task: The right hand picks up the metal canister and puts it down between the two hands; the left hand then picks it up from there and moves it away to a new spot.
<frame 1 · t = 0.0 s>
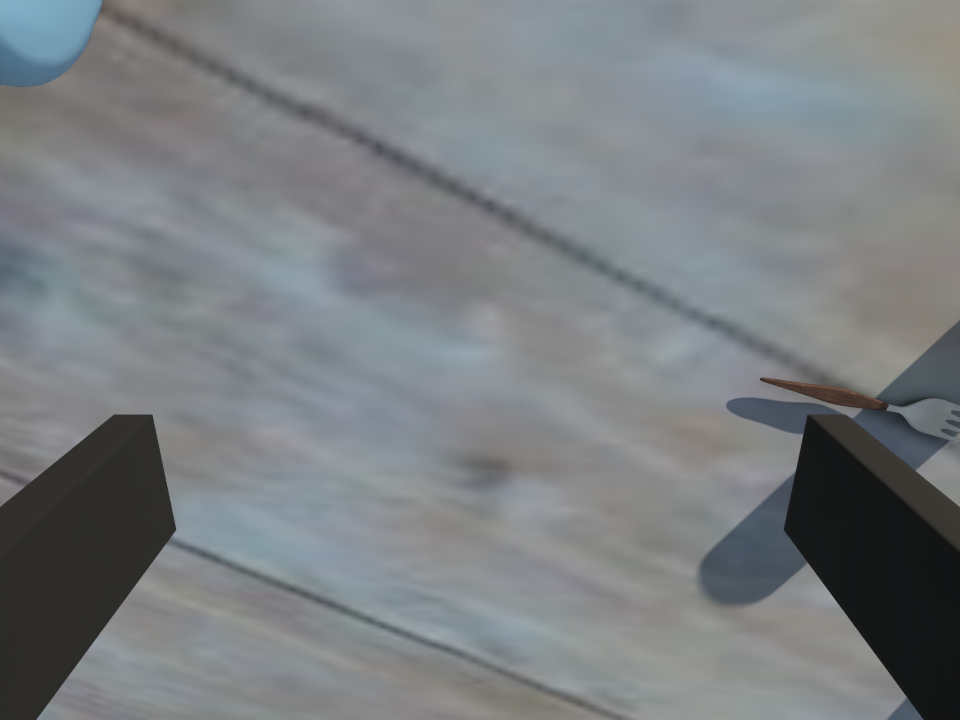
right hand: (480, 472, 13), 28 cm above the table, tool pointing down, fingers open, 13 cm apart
fork: (865, 399, 43), on the table
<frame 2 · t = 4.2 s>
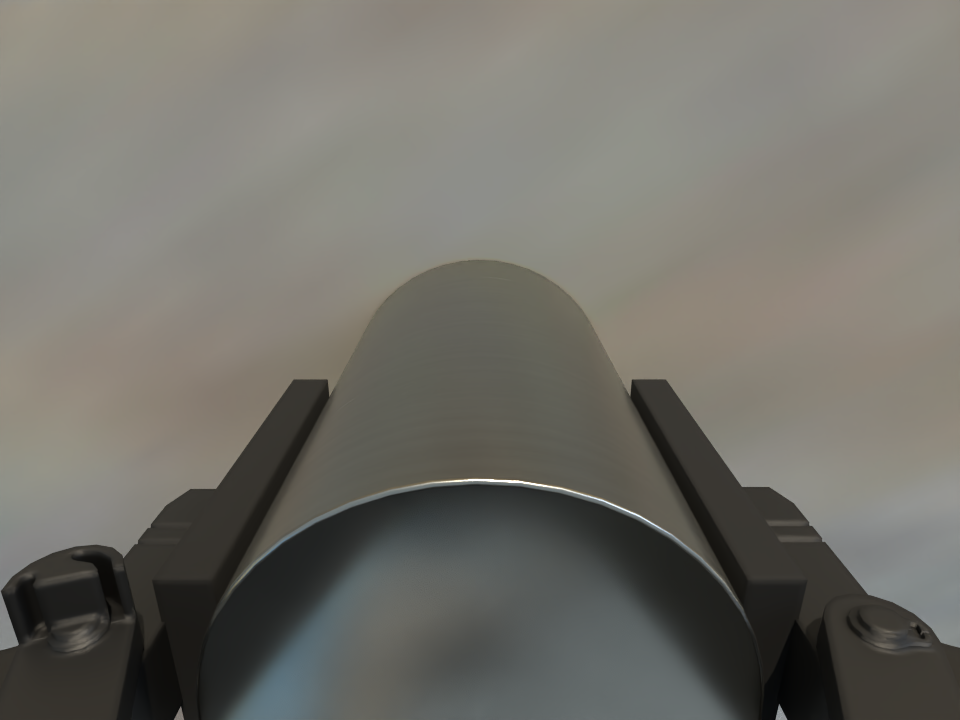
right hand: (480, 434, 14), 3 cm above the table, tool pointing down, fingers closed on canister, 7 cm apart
canister: (479, 381, 17), on the table, touching right hand
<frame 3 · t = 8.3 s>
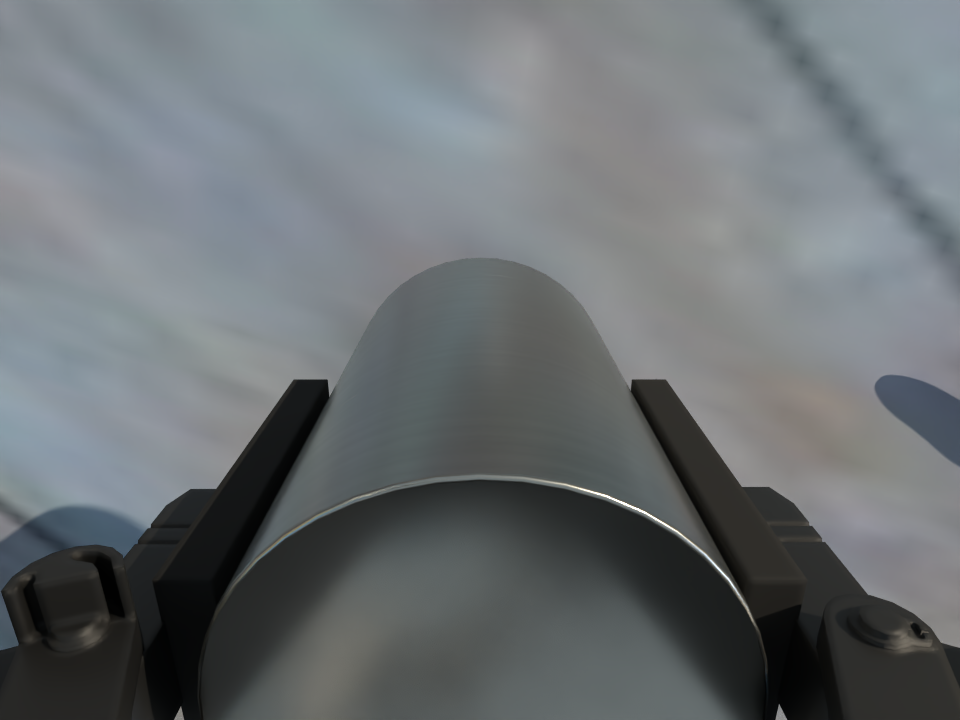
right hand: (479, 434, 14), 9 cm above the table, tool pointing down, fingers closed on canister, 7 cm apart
canister: (481, 379, 17), point 6 cm above the table, touching right hand
when the right hand's fingers open (5 cm above the table, at t = 12.8 s): canister drops 2 cm, on the table.
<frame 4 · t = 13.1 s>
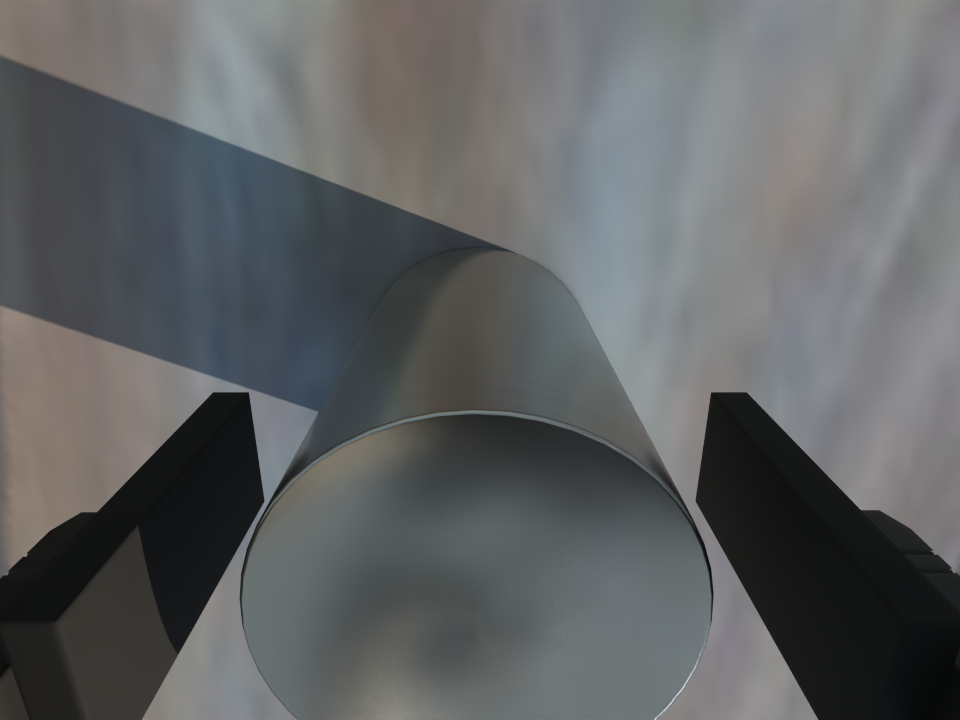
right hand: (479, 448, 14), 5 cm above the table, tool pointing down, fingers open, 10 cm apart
canister: (478, 360, 19), on the table
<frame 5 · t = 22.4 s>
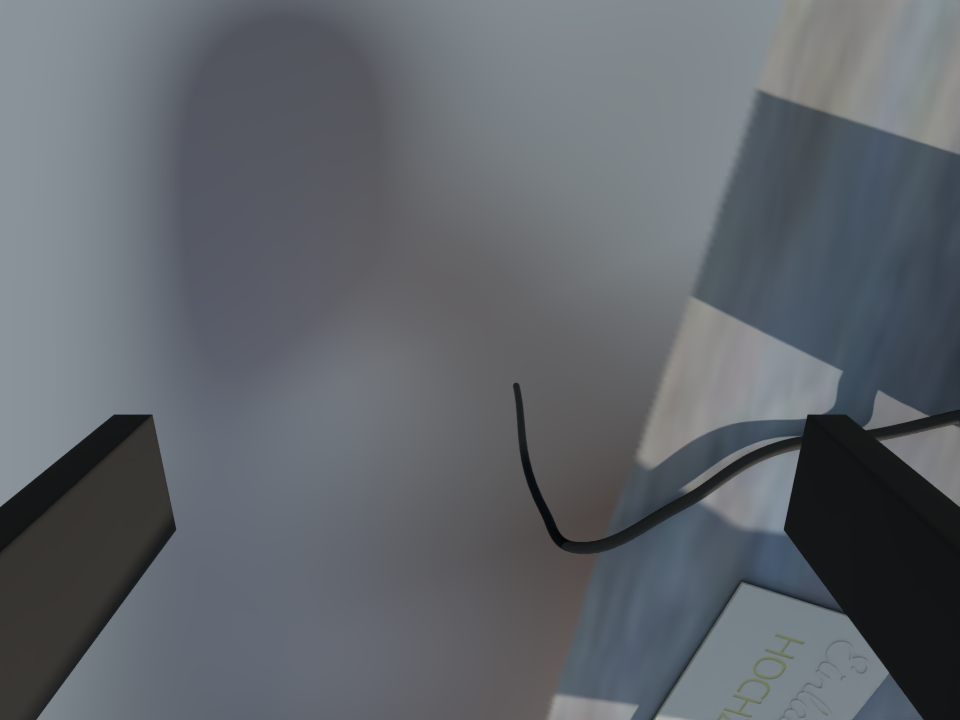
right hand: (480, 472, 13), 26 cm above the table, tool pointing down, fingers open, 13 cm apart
invitation card: (758, 705, 51), on the table
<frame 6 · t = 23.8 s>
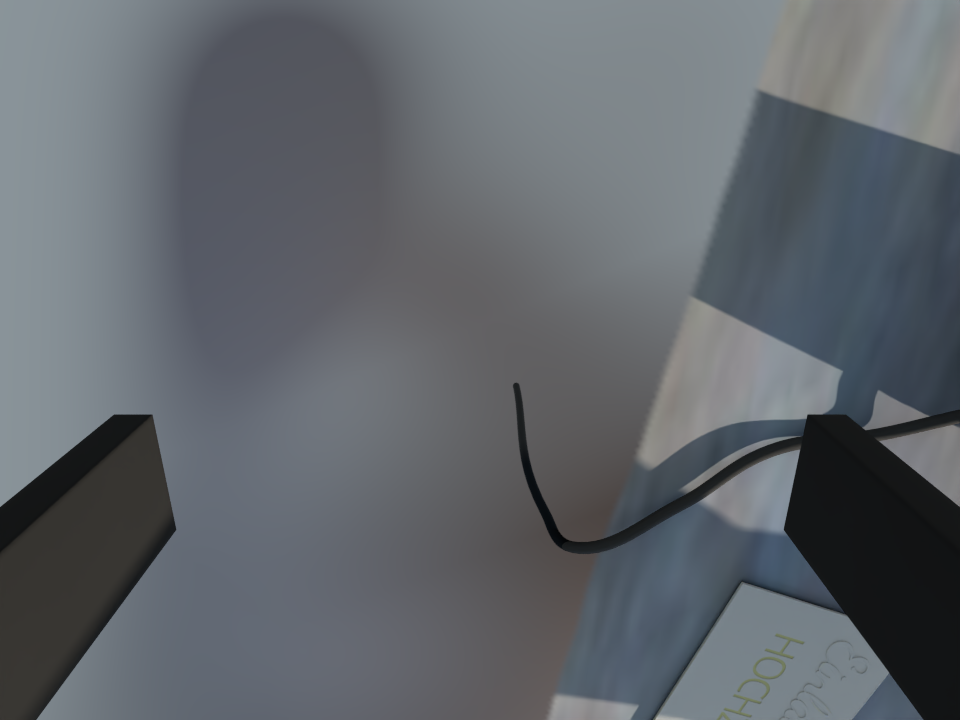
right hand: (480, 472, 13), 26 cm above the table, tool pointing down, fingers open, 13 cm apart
invitation card: (758, 705, 51), on the table
when the left hand's fingers open (5 cm above the table, at t = 25.2 s): canister drops 2 cm, on the table.
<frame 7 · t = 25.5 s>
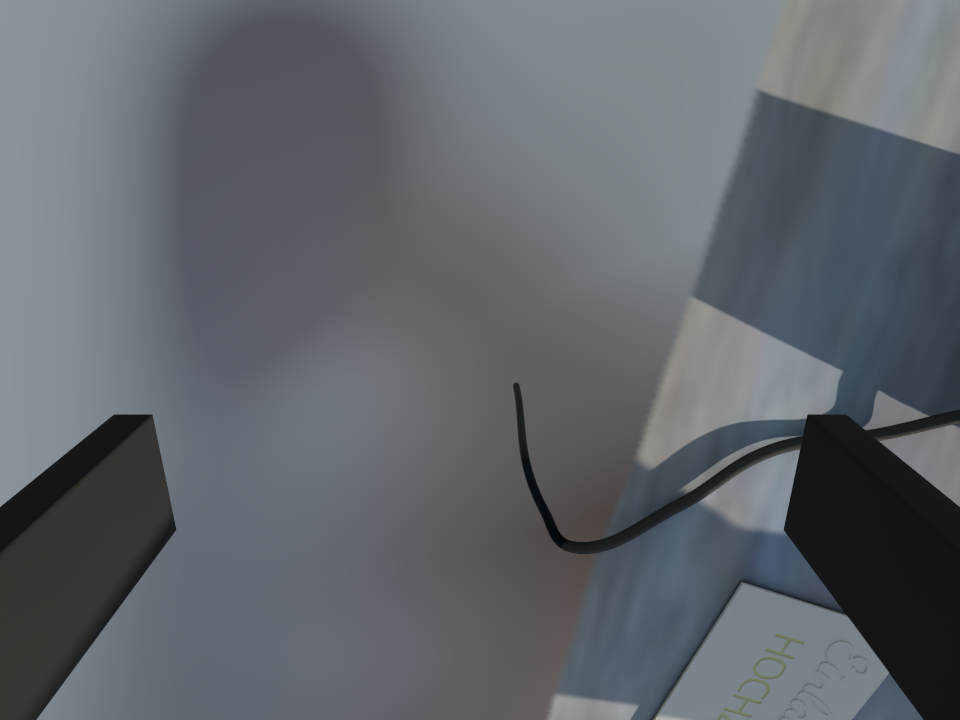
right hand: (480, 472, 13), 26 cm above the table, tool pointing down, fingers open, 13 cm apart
invitation card: (758, 705, 51), on the table
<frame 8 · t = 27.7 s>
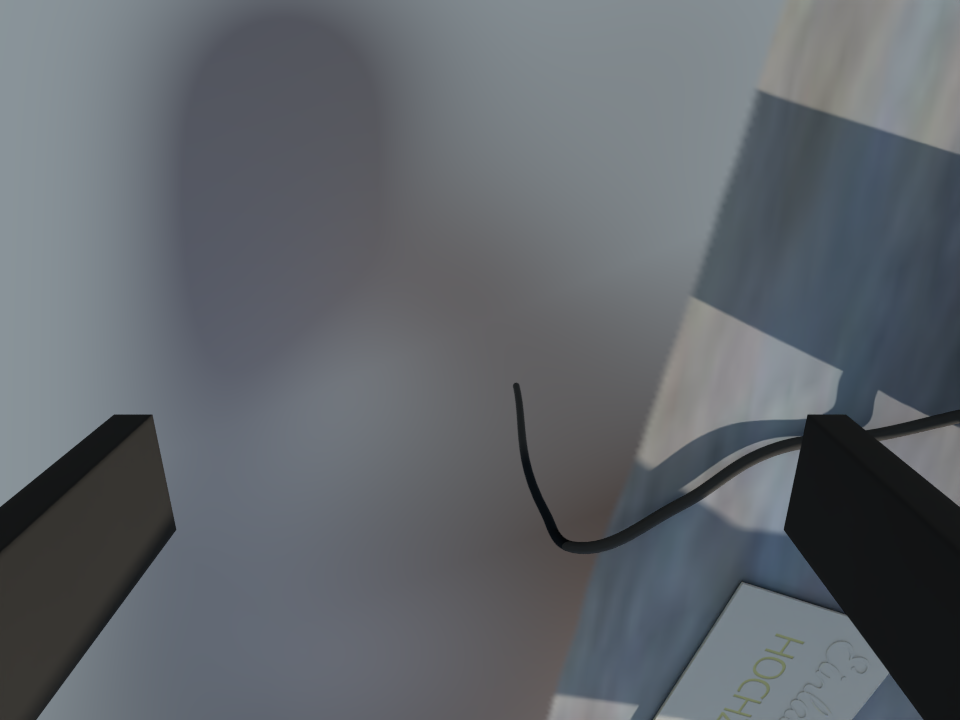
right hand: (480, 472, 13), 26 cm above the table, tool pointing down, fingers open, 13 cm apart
invitation card: (758, 705, 51), on the table
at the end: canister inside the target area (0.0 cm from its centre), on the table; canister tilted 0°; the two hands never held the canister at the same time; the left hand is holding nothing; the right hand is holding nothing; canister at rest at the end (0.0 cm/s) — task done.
